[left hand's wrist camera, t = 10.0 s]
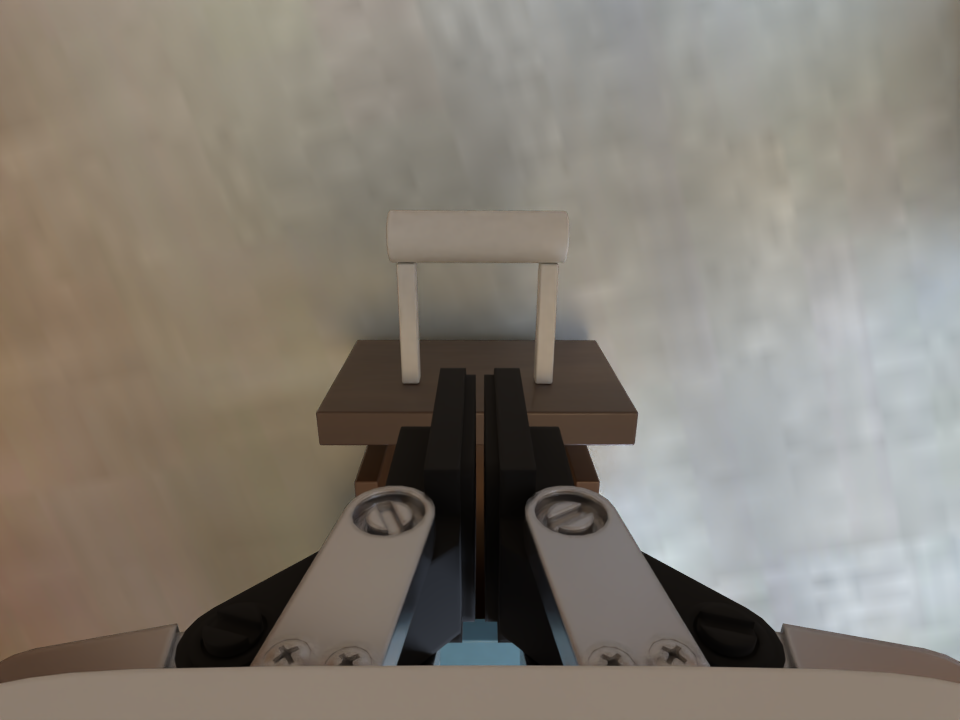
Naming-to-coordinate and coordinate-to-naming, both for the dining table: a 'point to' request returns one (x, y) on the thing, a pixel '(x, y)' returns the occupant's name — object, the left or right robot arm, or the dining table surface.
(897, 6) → the dining table surface
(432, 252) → the drawer
